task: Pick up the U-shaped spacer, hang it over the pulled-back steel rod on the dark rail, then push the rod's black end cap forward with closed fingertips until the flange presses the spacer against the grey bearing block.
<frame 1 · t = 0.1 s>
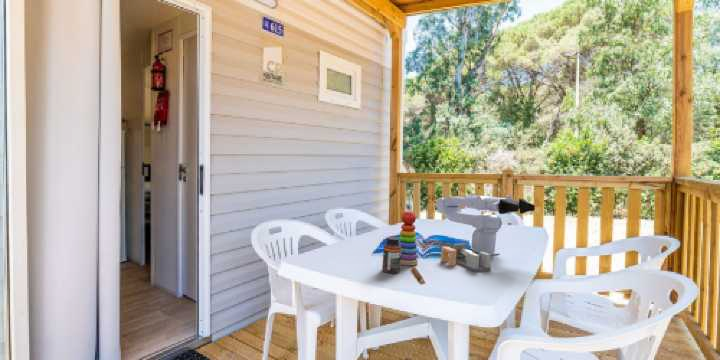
hand: (526, 207, 142), 22 cm above the table, tool horizontal, fingers open, 7 cm apart
shaft: (466, 253, 144), point 4 cm above the table, slide at 5.0 cm
rail: (465, 263, 144), on the table
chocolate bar: (417, 278, 126), on the table
spacer: (448, 263, 143), on the table
stacking toy: (406, 263, 141), on the table
supplement bottle: (391, 271, 130), on the table
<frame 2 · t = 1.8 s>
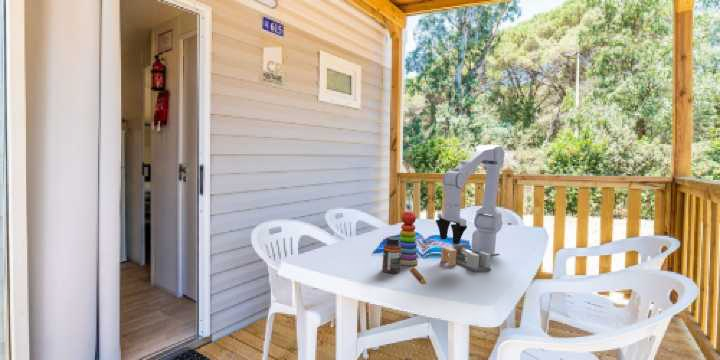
hand: (449, 241, 142), 8 cm above the table, tool pointing down, fingers open, 7 cm apart
nothing on the table moved.
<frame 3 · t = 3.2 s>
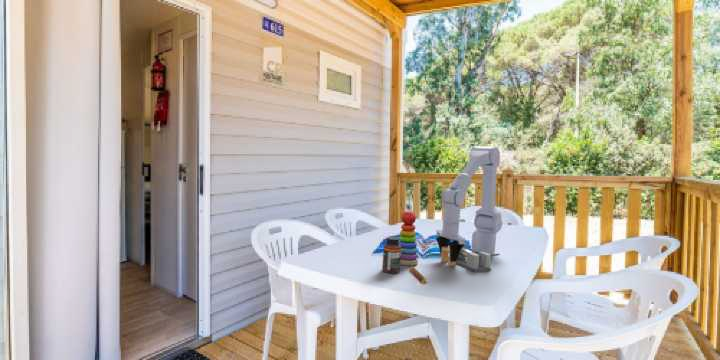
hand: (448, 258, 143), 2 cm above the table, tool pointing down, fingers closed on spacer, 5 cm apart
spacer: (448, 263, 143), on the table, touching gripper
everything else where it was.
when the fingers open (4 cm above the table, at t = 6.7 s): spacer stays where it is, resting on rail.
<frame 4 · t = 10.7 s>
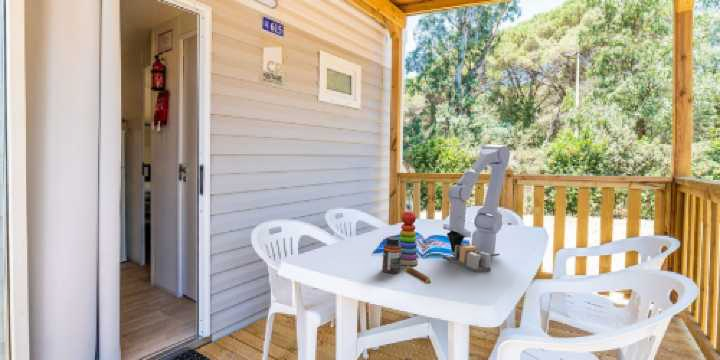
hand: (454, 251, 150), 3 cm above the table, tool pointing down, fingers closed
shaft: (467, 253, 143), point 4 cm above the table, slide at 4.1 cm, touching gripper
spacer: (467, 261, 143), point 1 cm above the table, touching rail
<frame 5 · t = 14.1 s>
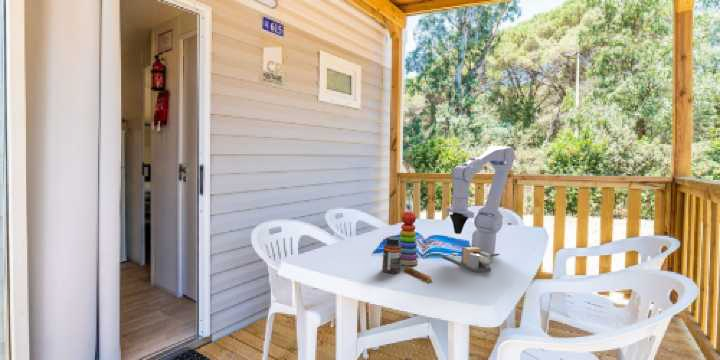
hand: (457, 233, 148), 10 cm above the table, tool pointing down, fingers closed
shaft: (475, 257, 139), point 4 cm above the table, slide at 0.0 cm
spacer: (471, 263, 141), point 1 cm above the table, touching rail
at the end: shaft slide at 0.0 cm; spacer 0.3 cm from the target spot, point 1.0 cm above the table; spacer tilted 0° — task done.
